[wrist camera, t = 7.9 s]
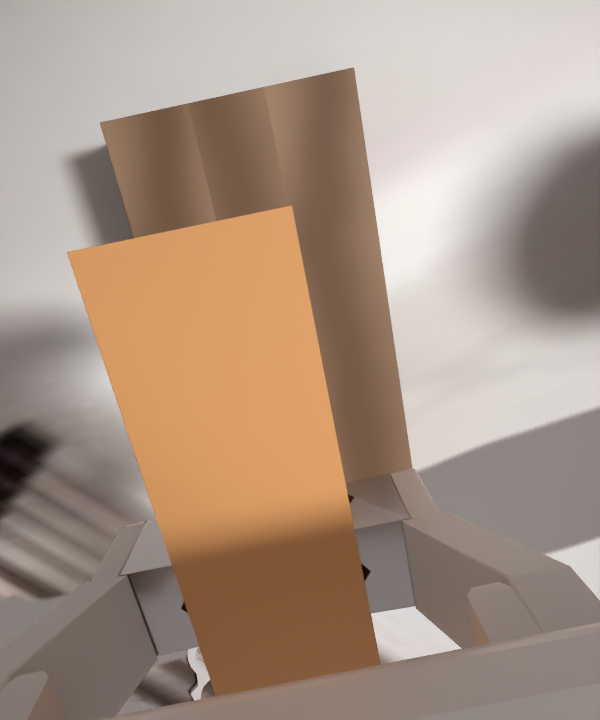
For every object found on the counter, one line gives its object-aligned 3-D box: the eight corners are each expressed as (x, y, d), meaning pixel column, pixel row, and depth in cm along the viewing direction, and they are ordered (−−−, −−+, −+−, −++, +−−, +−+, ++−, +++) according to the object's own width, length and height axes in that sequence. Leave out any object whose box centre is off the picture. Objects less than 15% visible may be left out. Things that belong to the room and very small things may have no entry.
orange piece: (284, 218, 12) (291, 205, 6) (358, 590, 15) (410, 816, 9) (171, 242, 12) (66, 251, 6) (270, 608, 15) (265, 844, 9)
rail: (343, 90, 20) (353, 67, 17) (408, 509, 26) (423, 543, 23) (126, 137, 20) (99, 122, 17) (240, 541, 26) (234, 579, 24)
